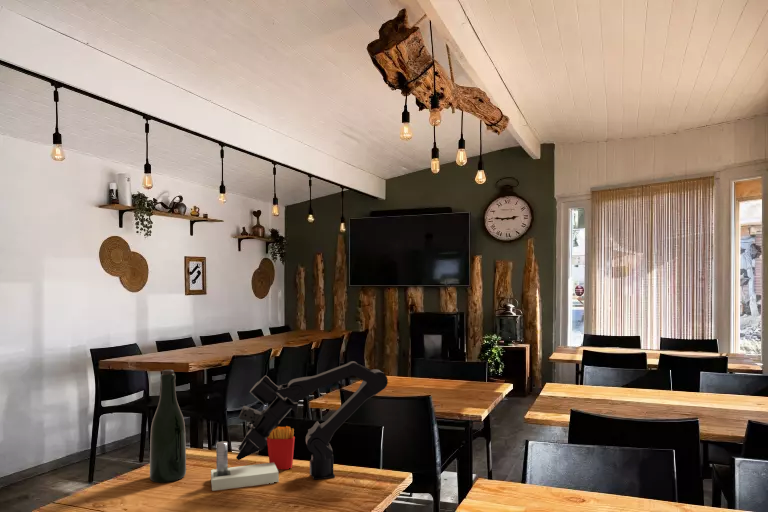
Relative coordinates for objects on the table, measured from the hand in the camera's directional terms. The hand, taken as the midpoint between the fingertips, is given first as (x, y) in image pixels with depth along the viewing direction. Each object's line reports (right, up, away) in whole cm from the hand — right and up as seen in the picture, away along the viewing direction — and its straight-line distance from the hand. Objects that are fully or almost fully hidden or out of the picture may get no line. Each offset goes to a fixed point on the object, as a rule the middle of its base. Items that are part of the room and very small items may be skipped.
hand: (238, 454), depth 171 cm
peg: (-4, -8, -1) cm, 9 cm away
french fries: (+10, -9, +13) cm, 19 cm away
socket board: (+2, -8, +1) cm, 8 cm away
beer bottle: (-23, -9, +5) cm, 25 cm away
